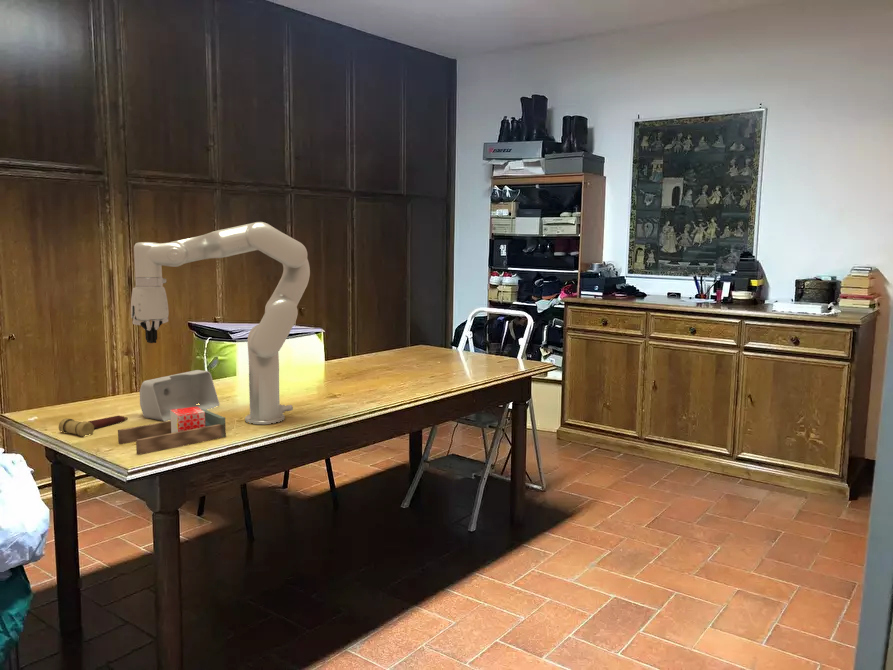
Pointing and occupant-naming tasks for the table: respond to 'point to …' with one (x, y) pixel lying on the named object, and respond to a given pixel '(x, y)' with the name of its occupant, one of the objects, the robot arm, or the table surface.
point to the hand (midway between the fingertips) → (151, 342)
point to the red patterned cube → (187, 419)
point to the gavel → (87, 425)
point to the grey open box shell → (177, 394)
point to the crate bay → (172, 434)
